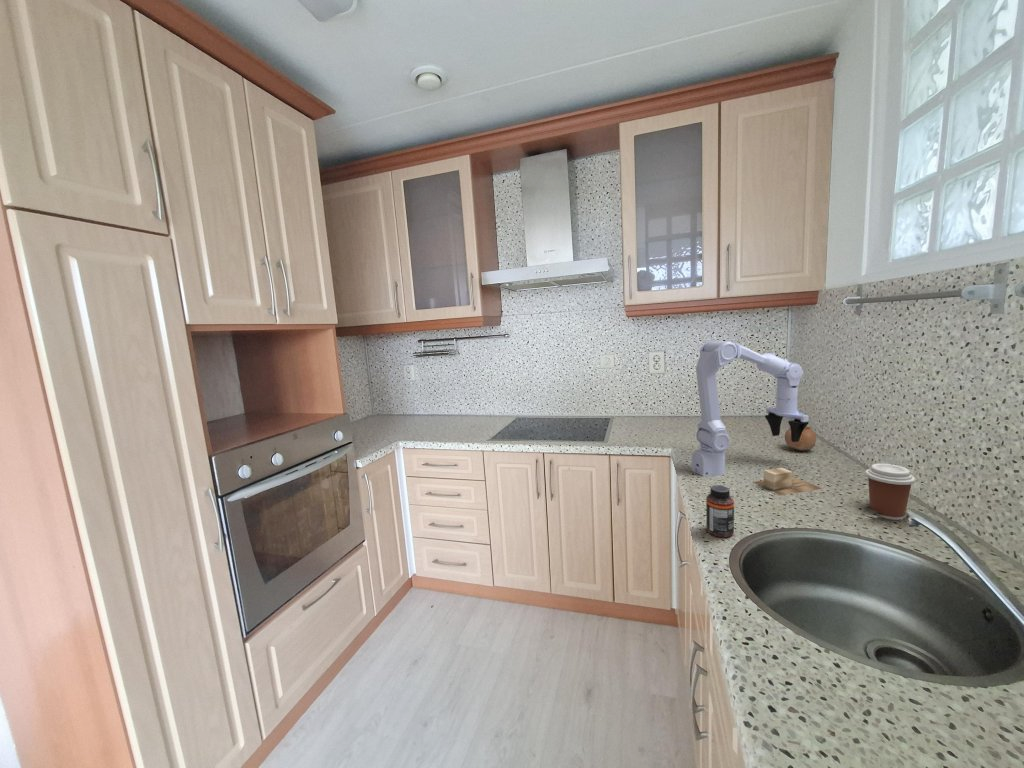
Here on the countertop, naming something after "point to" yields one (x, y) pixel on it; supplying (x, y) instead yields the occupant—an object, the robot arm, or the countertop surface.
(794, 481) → the board
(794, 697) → the countertop surface
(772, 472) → the block
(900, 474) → the coffee cup
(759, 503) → the countertop surface
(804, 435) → the onion
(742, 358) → the robot arm
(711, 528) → the supplement bottle
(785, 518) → the countertop surface
